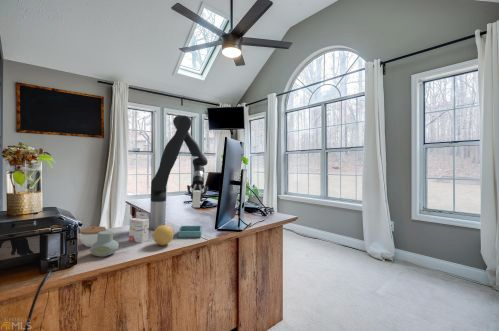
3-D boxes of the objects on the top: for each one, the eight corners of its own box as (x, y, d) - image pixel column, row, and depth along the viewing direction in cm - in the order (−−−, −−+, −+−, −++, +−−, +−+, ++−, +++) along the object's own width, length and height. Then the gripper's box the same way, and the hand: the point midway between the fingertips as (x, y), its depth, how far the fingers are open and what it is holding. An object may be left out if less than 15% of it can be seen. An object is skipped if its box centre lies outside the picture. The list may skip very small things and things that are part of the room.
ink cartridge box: (128, 241, 122) (129, 213, 122) (135, 238, 127) (136, 211, 127) (141, 243, 120) (142, 214, 120) (148, 240, 125) (149, 213, 125)
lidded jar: (83, 242, 118) (83, 223, 118) (107, 240, 122) (108, 222, 122) (76, 249, 108) (76, 229, 108) (102, 247, 112) (103, 228, 112)
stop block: (192, 207, 144) (193, 191, 144) (192, 206, 149) (193, 190, 149) (199, 207, 145) (200, 191, 145) (200, 206, 149) (200, 190, 149)
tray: (177, 237, 130) (178, 231, 130) (180, 231, 143) (181, 225, 143) (200, 237, 132) (201, 231, 132) (201, 231, 145) (202, 225, 145)
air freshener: (86, 258, 99) (87, 235, 99) (94, 251, 107) (95, 229, 107) (115, 257, 101) (115, 234, 101) (120, 250, 110) (121, 229, 110)
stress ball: (169, 249, 115) (180, 233, 121) (156, 237, 110) (169, 220, 117) (157, 248, 120) (169, 232, 127) (145, 236, 116) (158, 220, 123)
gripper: (187, 174, 154) (184, 195, 142) (209, 175, 156) (208, 195, 145) (187, 182, 159) (185, 202, 147) (208, 182, 162) (207, 203, 150)
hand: (196, 199), depth 146 cm, fingers closed on stop block, 4 cm apart
